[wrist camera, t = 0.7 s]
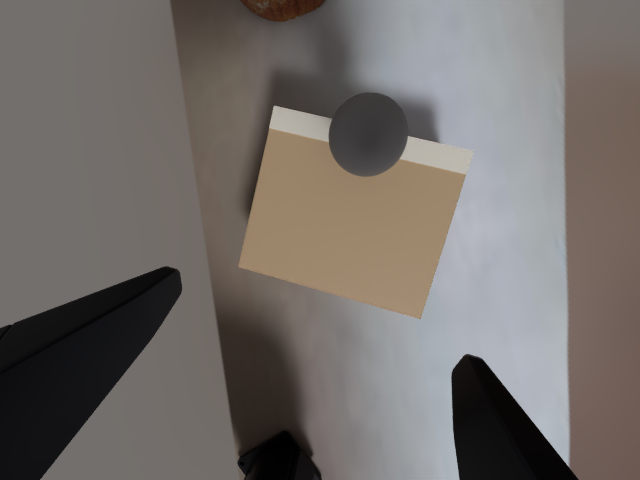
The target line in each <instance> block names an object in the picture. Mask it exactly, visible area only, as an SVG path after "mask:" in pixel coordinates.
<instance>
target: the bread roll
mask: <svg viewBox="0 0 640 480" xmlns="http://www.w3.org/2000/svg"><path fill="white" fill-rule="evenodd" d="M240 1H241V2H242V3H243V4H244V5H245V6H246V7H247V8H248V9H249V10H251V11H252V12H253V13H255V14H256V15H258V16H260V17H263V18H265V19H268V20H271V21H279V22H283V21H287V20H289V19H294V18H296V17H297V16H302V15H304V14H306V13H308V12H311V11H313V10H315V9H317V8H318V7H320V6H321V5H322V4H323V2H324V1H325V0H240Z"/></svg>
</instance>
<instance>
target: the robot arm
mask: <svg viewBox="0 0 640 480" xmlns="http://www.w3.org/2000/svg"><path fill="white" fill-rule="evenodd" d="M181 292H182V284H181V277H180V272H179V271H178V270H177V269H175V268H171V267H167V266H166V267H162V268H159V269H156V270H154V271H151V272H148V273H146V274H143V275H140V276H138V277H135V278H133V279H130V280H127V281H124V282H122V283H119V284H117V285H114V286H111V287H109V288H106V289H103V290H101V291H98V292H95V293H93V294H90V295H87V296H85V297H82V298H79V299H77V300H74V301H71V302H69V303H66V304H64V305H61V306H58V307H55V308H53V309H50V310H47V311H45V312H42V313H40V314H37V315H34V316H31V317H29V318H26V319H23V320H21V321H18V322H16V323H14V324H13V325H7V326H5V327H2V328H0V480H40V479H41V478H42V477H43V475H44V474H45V473H46V472H47V470H48V469H49V468H50V466H51V465H52V464H53V463H54V461H55V460H56V459H57V458H58V456H59V455H60V454H61V453H62V451H63V450H64V449H65V448H66V446H67V445H68V444H69V443H70V441H71V440H72V439H73V437H74V436H75V435H76V434H77V432H78V431H79V430H80V429H81V427H82V426H83V425H84V424H85V422H86V421H87V420H88V418H89V417H90V416H91V415H92V414H93V412H94V411H95V410H96V408H97V407H98V406H99V405H100V403H101V402H102V401H103V399H104V398H105V397H106V396H107V395H108V393H109V392H110V391H111V389H112V388H113V387H114V386H115V385H116V383H117V382H118V381H119V379H120V378H121V377H122V376H123V374H124V373H125V372H126V370H127V369H128V368H129V367H130V366H131V364H132V363H133V362H134V360H135V359H136V358H137V357H138V355H139V354H140V353H141V352H142V350H143V349H144V348H145V347H146V345H147V344H148V343H149V342H150V340H151V339H152V338H153V336H154V335H155V333H156V331H157V330H158V329H159V327H160V326H161V324H162V323H163V321H164V319H165V318H166V316H167V315H168V313H169V311H170V310H171V309H172V307H173V305H174V304H175V302H176V301H177V299H178V298H179V296H180V294H181ZM452 409H453V432H454V441H455V449H456V456H457V463H458V470H459V478H460V480H579V479H578V478H577V477H576V476H575V474H574V473H573V472H572V471H571V469H570V468H569V467H568V466H567V464H566V463H565V462H564V461H563V459H562V458H561V457H560V456H559V454H558V453H557V452H556V451H555V449H554V448H553V447H552V445H551V444H550V443H549V442H548V440H547V439H546V438H545V437H544V435H543V434H542V433H541V432H540V430H539V429H538V428H537V427H536V425H535V424H534V423H533V422H532V420H531V419H530V418H529V417H528V415H527V414H526V413H525V412H524V410H523V409H522V408H521V407H520V405H519V404H518V403H517V402H516V400H515V399H514V398H513V397H512V395H511V394H510V393H509V391H508V390H507V389H506V388H505V386H504V385H503V384H502V383H501V381H500V380H499V379H498V378H497V376H496V375H495V374H494V373H493V371H492V370H491V369H490V368H489V366H488V365H487V364H486V363H485V361H484V360H483V359H481V358H480V357H477V356H473V355H470V354H466V355H464V356H463V357H462V359H461V360H460V361H459V362H458V364H457V365H456V366H455V367H454V369H453V371H452ZM283 436H285V437H287V438H284V437H283ZM242 461H243V462H242ZM238 466H239V467H240V469H241V470H242V471H243V473H244V474H245V478H244V480H322V479H321V477H320V475H319V474H318V473H317V471H316V470H315V468H314V466H313V465H312V463H311V462H310V461H309V459H308V458H307V456H306V455H305V454H304V452H303V451H302V449H300V447H299V446H298V444H297V443H296V442H295V440H294V439H293V437H292V436H291V435H290V433H289V432H287V431H283V432H281V433H279V434H277V435H276V436H274V437H272V438H271V439H269V440H267V441H266V442H264V443H262V444H261V445H259V446H257V447H256V448H254V449H252V450H250V451H249V452H247V453H245V454H244V455H242V456H241V457H240V458H239V460H238Z"/></svg>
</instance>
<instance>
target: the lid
mask: <svg viewBox="0 0 640 480" xmlns="http://www.w3.org/2000/svg"><path fill="white" fill-rule="evenodd" d="M473 153H474V151H471V150H467V149H463V148H458V147H454V146H449V145H445V144H441V143H436V142H432V141H428V140H423V139H419V138H414V137H410V136H408V125H407V120H406V117H405V115H404V113H403V111H402V109H401V108H400V107H399V105H398V104H397V103H396V102H395V101H393V100H392V99H391V98H389V97H387V96H385V95H382V94H379V93H363V94H359V95H356V96H354V97H352V98H350V99H349V100H347V101H346V102H345V103H344V104H343V105H341V106H340V108H339V109H338V110H337V111H336V113H335V115H334V117H333V119H331V118H327V117H322V116H318V115H313V114H309V113H305V112H300V111H296V110H292V109H287V108H283V107H278V106H274V108H273V112H272V117H271V121H270V126H269V132H268V137H267V141H266V146H265V150H264V155H263V159H262V164H261V168H260V173H259V177H258V181H257V186H256V190H255V195H254V199H253V204H252V208H251V213H250V217H249V222H248V226H247V230H246V235H245V239H244V244H243V248H242V253H241V257H240V262H239V266H238V267H240V268H244V269H247V270H251V271H254V272H258V273H261V274H265V275H268V276H272V277H275V278H279V279H282V280H286V281H289V282H293V283H296V284H300V285H303V286H307V287H310V288H314V289H317V290H321V291H324V292H328V293H331V294H335V295H338V296H342V297H345V298H349V299H352V300H356V301H359V302H363V303H366V304H370V305H373V306H377V307H380V308H384V309H387V310H391V311H394V312H398V313H401V314H405V315H408V316H412V317H415V318H419V319H421V316H422V313H423V309H424V306H425V303H426V300H427V297H428V294H429V290H430V287H431V284H432V281H433V278H434V275H435V271H436V268H437V265H438V262H439V259H440V256H441V252H442V249H443V246H444V243H445V240H446V236H447V233H448V230H449V227H450V224H451V221H452V217H453V214H454V211H455V208H456V205H457V202H458V198H459V195H460V192H461V189H462V186H463V182H464V179H465V176H466V174H467V172H468V168H469V165H470V162H471V159H472V156H473Z"/></svg>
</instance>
